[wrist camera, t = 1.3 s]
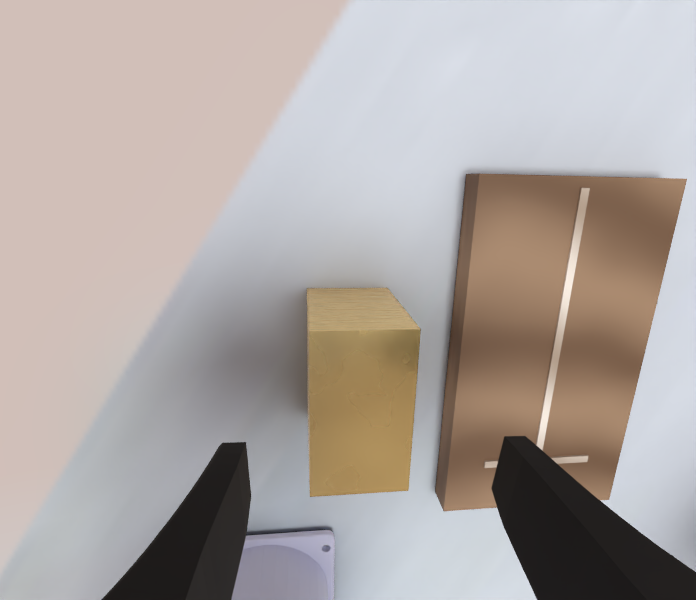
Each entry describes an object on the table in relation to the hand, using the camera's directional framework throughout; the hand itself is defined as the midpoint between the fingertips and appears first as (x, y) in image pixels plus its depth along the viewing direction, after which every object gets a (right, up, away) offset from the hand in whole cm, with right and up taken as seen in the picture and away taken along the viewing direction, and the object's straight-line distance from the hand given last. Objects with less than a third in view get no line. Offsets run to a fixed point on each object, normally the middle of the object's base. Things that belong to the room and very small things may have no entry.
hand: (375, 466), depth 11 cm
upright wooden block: (-1, +2, +10) cm, 10 cm away
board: (+10, +2, +11) cm, 15 cm away
